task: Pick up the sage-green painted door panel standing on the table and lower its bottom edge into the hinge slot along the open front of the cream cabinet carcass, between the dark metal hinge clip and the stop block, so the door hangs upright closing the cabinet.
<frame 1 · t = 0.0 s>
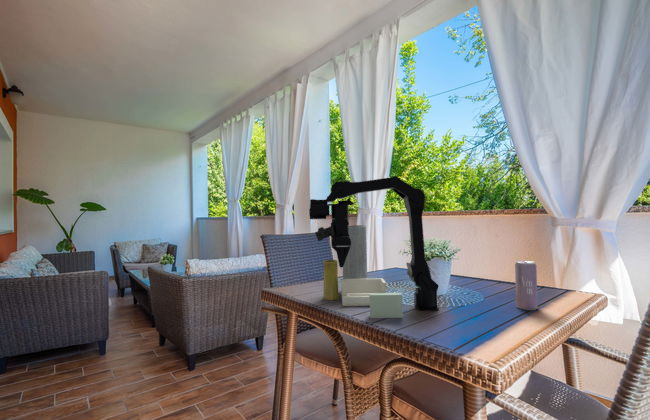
hand: (340, 265, 109), 15 cm above the table, fingers open, 9 cm apart
vase: (331, 298, 123), on the table
planter: (355, 291, 134), on the table
door: (386, 316, 100), on the table
beverage can: (526, 308, 106), on the table
cabinet: (363, 300, 119), on the table
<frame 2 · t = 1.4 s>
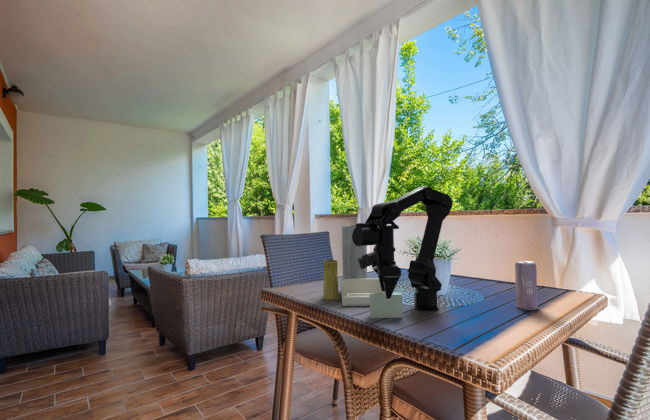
hand: (385, 294, 100), 7 cm above the table, fingers open, 9 cm apart
nothing on the table moved.
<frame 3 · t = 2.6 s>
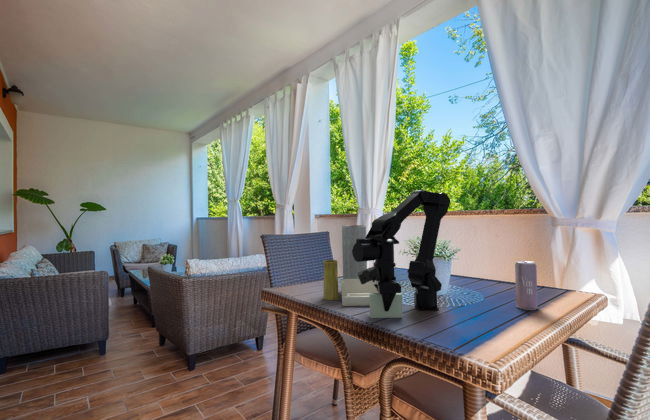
hand: (385, 309, 100), 2 cm above the table, fingers closed on door, 2 cm apart
door: (386, 316, 100), on the table, touching gripper
everything else where it was.
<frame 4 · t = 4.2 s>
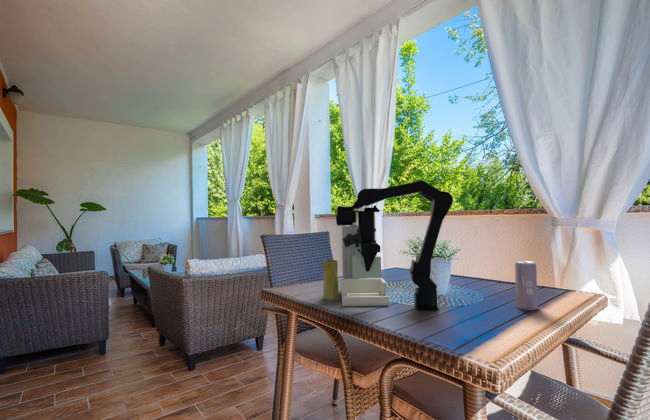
hand: (367, 270, 112), 12 cm above the table, fingers closed on door, 2 cm apart
door: (366, 277, 112), point 10 cm above the table, touching gripper
everything else where it was.
when the fingers open (4 cm above the table, at t = 6.1 s): door stays where it is, resting on cabinet.
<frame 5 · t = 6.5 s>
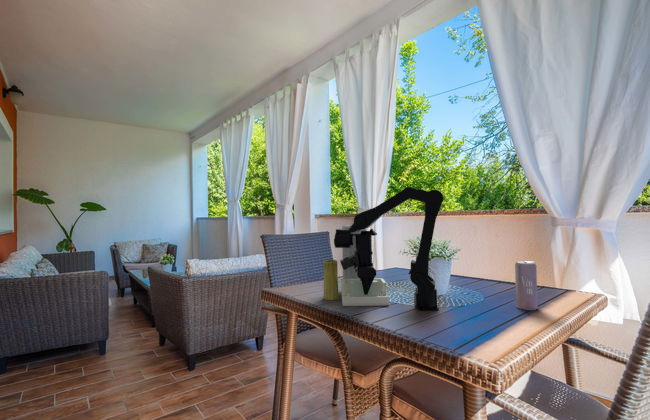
hand: (364, 292, 115), 4 cm above the table, fingers open, 7 cm apart
door: (364, 301, 115), point 1 cm above the table, touching cabinet
everything else where it was.
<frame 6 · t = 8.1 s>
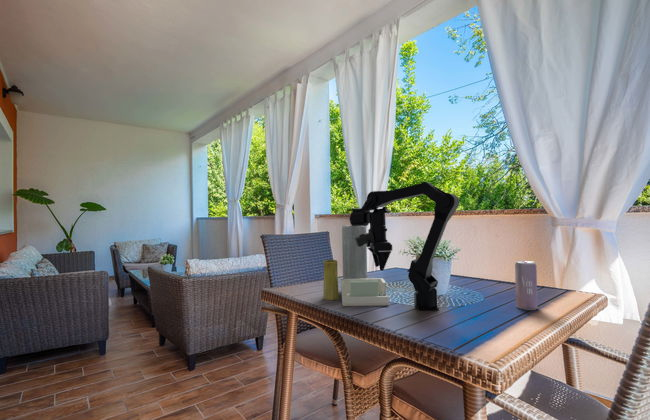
hand: (379, 268, 118), 12 cm above the table, fingers open, 9 cm apart
nothing on the table moved.
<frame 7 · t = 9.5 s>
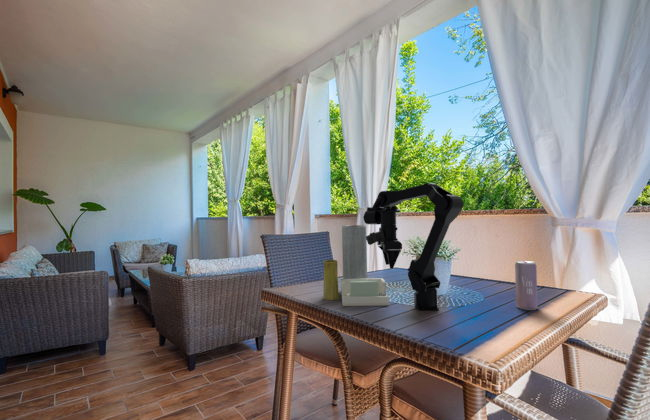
hand: (389, 266, 121), 12 cm above the table, fingers open, 9 cm apart
nothing on the table moved.
at the end: door 0.2 cm from the target spot on the cabinet, point 0.8 cm above the cabinet's base; door tilted 0°; the gripper is holding nothing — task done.
